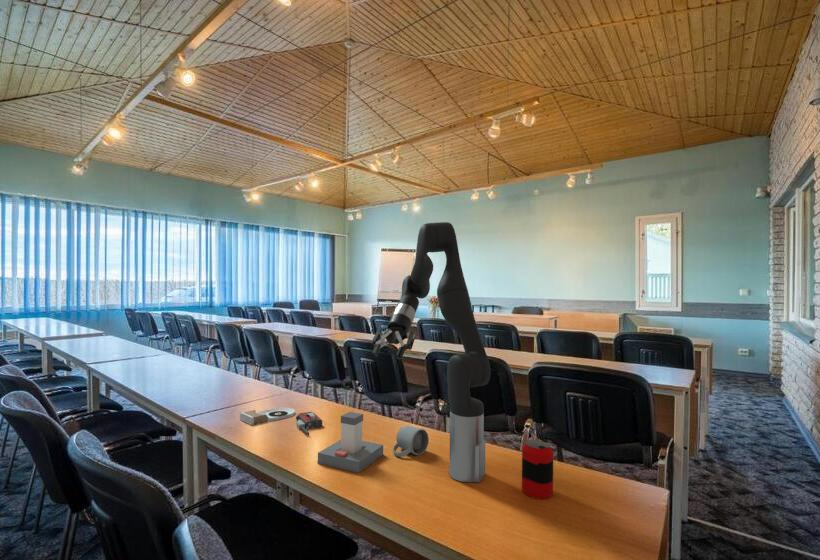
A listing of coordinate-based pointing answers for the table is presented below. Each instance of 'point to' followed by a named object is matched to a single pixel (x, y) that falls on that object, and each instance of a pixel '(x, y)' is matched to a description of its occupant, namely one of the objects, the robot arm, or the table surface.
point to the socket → (350, 456)
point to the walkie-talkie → (308, 421)
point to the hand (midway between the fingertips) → (386, 357)
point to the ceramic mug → (411, 441)
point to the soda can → (537, 469)
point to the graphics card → (266, 415)
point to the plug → (351, 432)
